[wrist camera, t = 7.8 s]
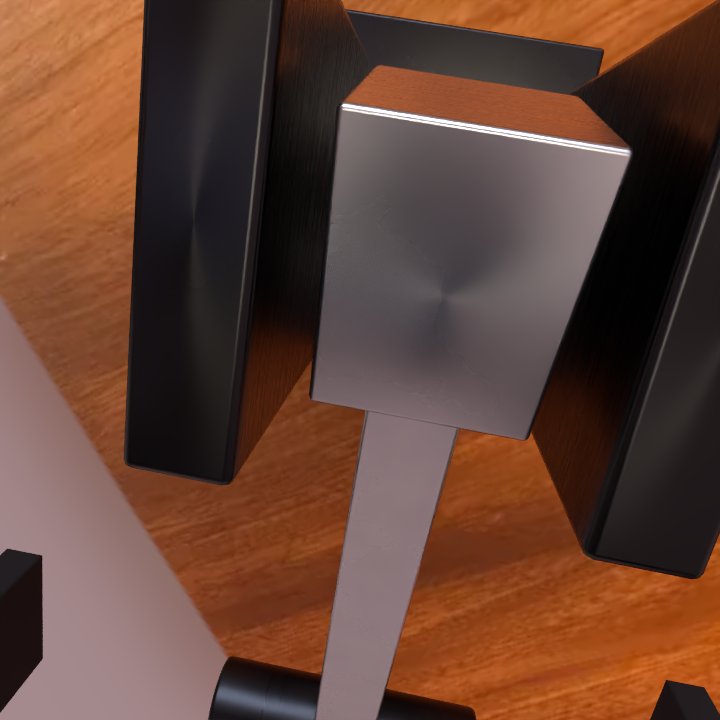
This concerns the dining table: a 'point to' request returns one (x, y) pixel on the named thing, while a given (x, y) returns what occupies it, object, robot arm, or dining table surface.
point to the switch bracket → (306, 240)
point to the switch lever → (433, 337)
